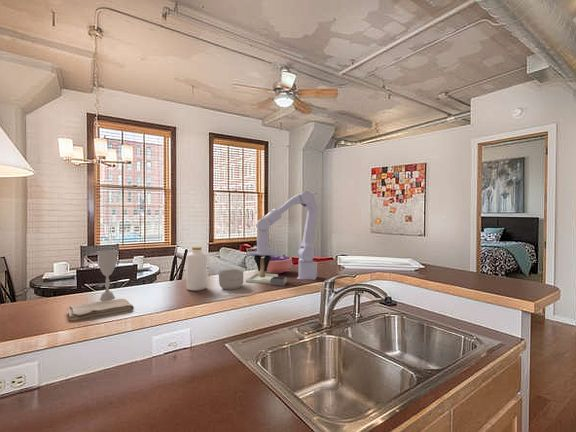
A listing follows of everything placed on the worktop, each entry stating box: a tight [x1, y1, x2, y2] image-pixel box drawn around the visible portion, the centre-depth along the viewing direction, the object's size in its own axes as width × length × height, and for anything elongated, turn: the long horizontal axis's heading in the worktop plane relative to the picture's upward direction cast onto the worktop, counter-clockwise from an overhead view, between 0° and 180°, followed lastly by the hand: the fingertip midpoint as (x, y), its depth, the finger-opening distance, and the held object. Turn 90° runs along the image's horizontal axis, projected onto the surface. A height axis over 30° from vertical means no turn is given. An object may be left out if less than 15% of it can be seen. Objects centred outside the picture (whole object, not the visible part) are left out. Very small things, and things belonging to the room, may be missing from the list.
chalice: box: [96, 249, 118, 301], centre depth 119 cm, size 7×7×18 cm
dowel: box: [259, 257, 266, 277], centre depth 152 cm, size 3×3×9 cm
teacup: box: [217, 268, 244, 291], centre depth 136 cm, size 14×11×8 cm
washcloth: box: [66, 298, 135, 322], centre depth 103 cm, size 12×18×3 cm, turn 129°
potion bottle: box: [186, 246, 208, 292], centre depth 134 cm, size 8×8×18 cm
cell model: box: [262, 254, 293, 275], centre depth 170 cm, size 17×20×11 cm
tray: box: [244, 272, 279, 284], centre depth 152 cm, size 12×16×2 cm
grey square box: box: [269, 276, 288, 287], centre depth 142 cm, size 6×6×3 cm
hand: (262, 271), depth 152 cm, fingers closed on dowel, 2 cm apart
